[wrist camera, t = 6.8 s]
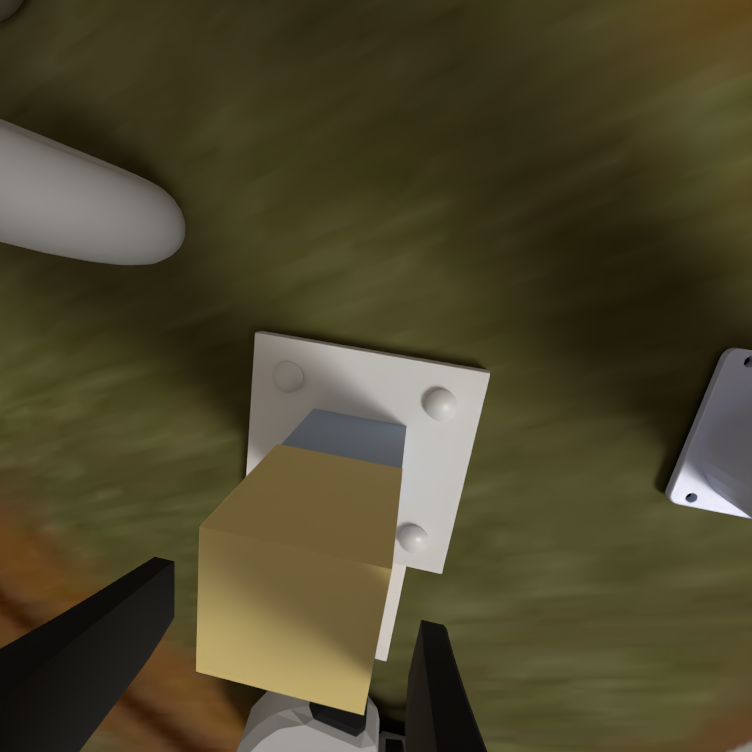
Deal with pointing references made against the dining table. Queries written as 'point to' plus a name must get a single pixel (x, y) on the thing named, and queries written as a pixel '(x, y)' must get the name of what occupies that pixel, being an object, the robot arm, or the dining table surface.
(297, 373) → the plate
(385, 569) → the mustard block
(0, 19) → the plastic bottle
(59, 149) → the donut
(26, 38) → the dining table surface
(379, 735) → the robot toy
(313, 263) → the dining table surface
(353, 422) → the slate block
